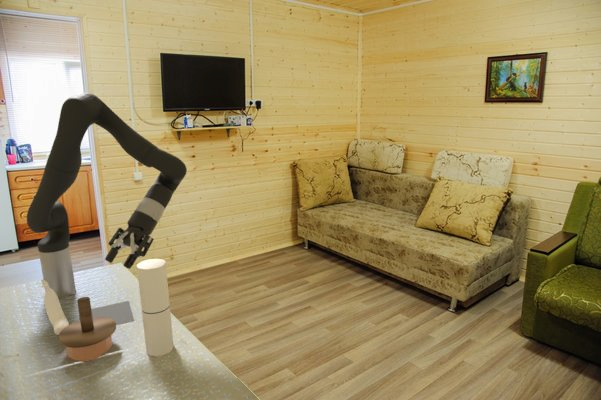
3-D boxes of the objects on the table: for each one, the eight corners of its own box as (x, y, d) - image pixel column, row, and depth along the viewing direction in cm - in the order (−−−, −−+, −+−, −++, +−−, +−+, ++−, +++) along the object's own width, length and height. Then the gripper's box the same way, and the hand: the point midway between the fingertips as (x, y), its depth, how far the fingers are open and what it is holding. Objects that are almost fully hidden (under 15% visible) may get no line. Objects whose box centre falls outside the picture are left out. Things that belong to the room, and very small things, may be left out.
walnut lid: (59, 327, 117) (54, 294, 115) (114, 315, 123) (110, 283, 121) (58, 353, 105) (52, 317, 103) (118, 338, 111) (113, 304, 109)
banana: (57, 347, 116) (49, 299, 113) (43, 321, 130) (35, 277, 127) (76, 340, 119) (69, 293, 116) (61, 315, 133) (54, 273, 130)
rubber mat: (79, 312, 135) (79, 311, 135) (128, 302, 142) (128, 300, 142) (79, 335, 122) (79, 333, 122) (134, 322, 129) (134, 320, 129)
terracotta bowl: (68, 344, 117) (65, 328, 116) (110, 334, 122) (108, 318, 121) (67, 366, 108) (64, 349, 107) (113, 353, 113) (111, 337, 112)
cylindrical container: (148, 359, 110) (138, 271, 104) (144, 345, 117) (135, 261, 111) (175, 351, 114) (167, 265, 108) (170, 338, 120) (163, 256, 114)
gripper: (123, 206, 127) (92, 253, 120) (154, 212, 119) (123, 263, 113) (139, 219, 132) (111, 265, 126) (170, 225, 125) (141, 275, 118)
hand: (117, 264), depth 119 cm, fingers open, 8 cm apart
